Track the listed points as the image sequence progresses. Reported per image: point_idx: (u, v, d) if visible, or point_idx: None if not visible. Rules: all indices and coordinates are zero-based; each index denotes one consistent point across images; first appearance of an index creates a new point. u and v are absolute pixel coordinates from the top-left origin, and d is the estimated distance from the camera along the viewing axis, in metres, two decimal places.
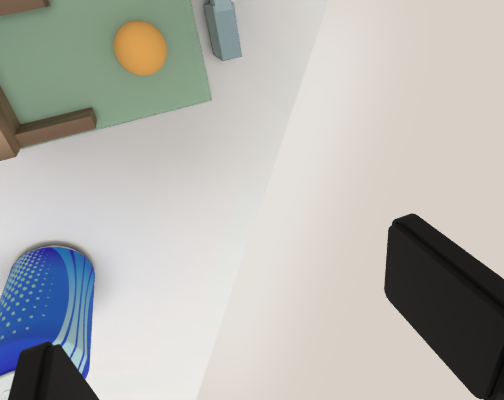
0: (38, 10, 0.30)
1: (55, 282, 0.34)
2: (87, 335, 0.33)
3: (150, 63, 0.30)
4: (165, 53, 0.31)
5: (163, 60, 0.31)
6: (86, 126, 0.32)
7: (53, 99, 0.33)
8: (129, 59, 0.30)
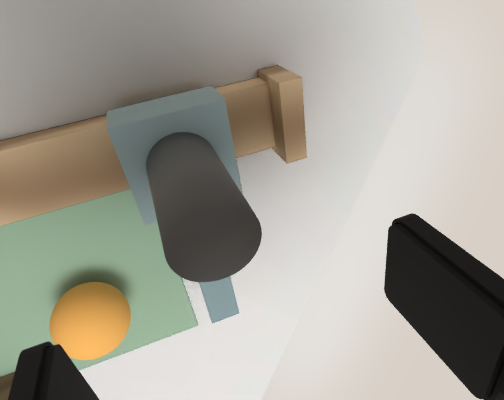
0: None
1: None
2: None
3: (104, 354, 0.21)
4: (127, 327, 0.21)
5: (124, 336, 0.22)
6: None
7: None
8: (71, 356, 0.20)
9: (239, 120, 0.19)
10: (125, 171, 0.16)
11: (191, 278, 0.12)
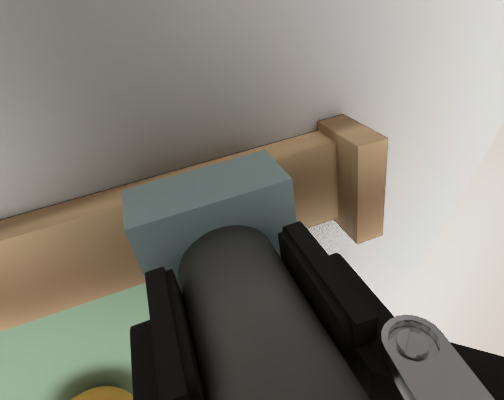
0: None
1: None
2: None
3: None
4: None
5: None
6: None
7: None
8: None
9: (295, 189, 0.14)
10: None
11: None
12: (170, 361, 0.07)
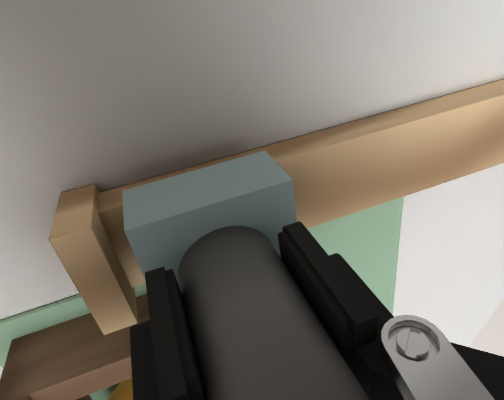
0: None
1: None
2: None
3: None
4: None
5: None
6: None
7: None
8: None
9: None
10: None
11: None
12: (170, 361, 0.07)
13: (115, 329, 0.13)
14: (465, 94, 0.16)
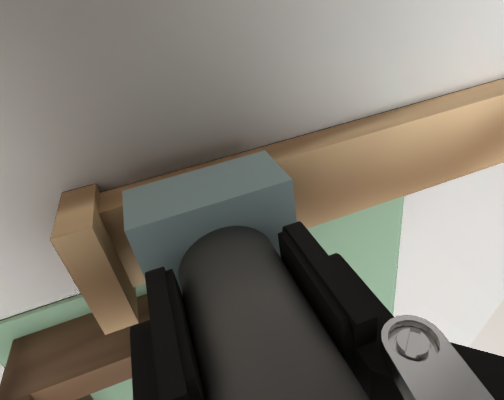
0: None
1: None
2: None
3: None
4: None
5: None
6: None
7: None
8: None
9: None
10: None
11: None
12: (170, 361, 0.07)
13: (116, 329, 0.13)
14: (466, 94, 0.16)
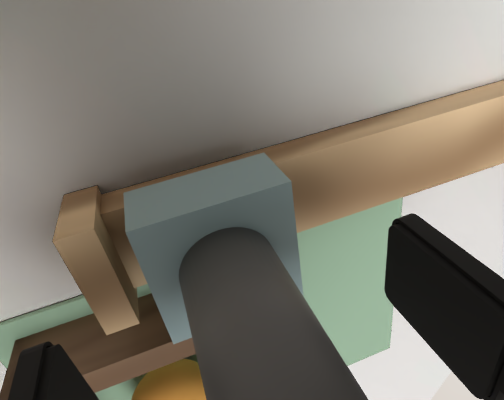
0: None
1: None
2: None
3: None
4: None
5: None
6: None
7: None
8: None
9: None
10: (149, 283, 0.11)
11: None
12: None
13: (117, 329, 0.13)
14: (463, 96, 0.16)
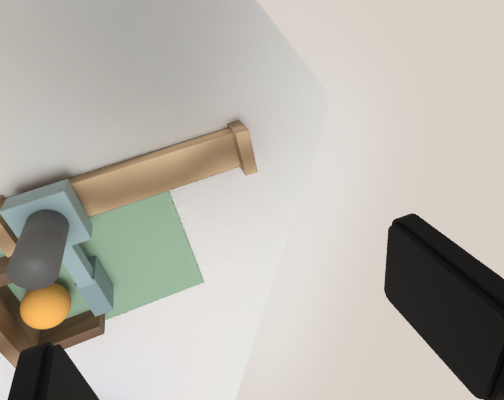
0: None
1: None
2: None
3: None
4: None
5: None
6: (96, 333, 0.38)
7: None
8: None
9: (217, 153, 0.35)
10: (14, 231, 0.29)
11: (27, 288, 0.25)
12: None
13: (11, 255, 0.31)
14: (180, 145, 0.34)
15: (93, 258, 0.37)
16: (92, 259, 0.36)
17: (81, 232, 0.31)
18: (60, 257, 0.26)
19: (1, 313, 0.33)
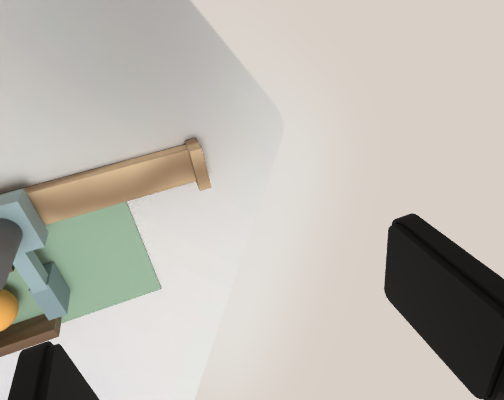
0: None
1: None
2: None
3: None
4: None
5: None
6: (50, 336, 0.39)
7: (24, 308, 0.40)
8: (16, 306, 0.37)
9: (173, 168, 0.36)
10: None
11: None
12: None
13: None
14: (137, 159, 0.36)
15: (50, 263, 0.38)
16: (48, 264, 0.38)
17: (34, 240, 0.32)
18: (8, 266, 0.27)
19: None
